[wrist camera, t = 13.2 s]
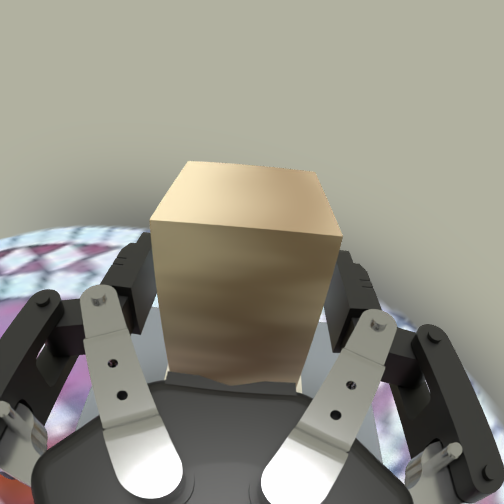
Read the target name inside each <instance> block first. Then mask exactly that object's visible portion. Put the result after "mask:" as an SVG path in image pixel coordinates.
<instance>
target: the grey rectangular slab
mask: <svg viewBox="0 0 504 504" xmlns="http://www.w3.org/2000/svg"><path fill="white" fill-rule="evenodd" d="M130 337H131V340H132V343H133V346H134V349H135V352H136V355H137V358H138V360H139V363H140V366H141V369H142V372H143V374H144V377H145V380H146V382H147V383H151V382H154V381H160V380H166V376H167V372H168V371H169V366H168V360H167V354H166V349H165V343H164V337H163V330H162V324H161V317H160V310H159V308H157V307H151V309H150V312H149V314H148V317H147V320H146V322H145V325H144V328H143V330H142V333H141V335H137V334H131V336H130ZM339 354H340V353H332V347H331V342H330V336H329V331H328V325H327V323H325V322H318V325H317V328H316V331H315V334H314V338H313V341H312V344H311V347H310V350H309V353H308V356H307V359H306V361H305V364H304V367H303V370H302V373H301V376H300V379H299V381H298V384H297V387H296V392H299V393H302V394H305V395H307V396H310V397H312V398H314V397H315V395H316V394H317V392H318V390H319V389H320V387H321V385H322V384H323V382H324V380H325V379H326V377H327V375H328V374H329V372H330V370H331V368H332V367H333V365H334V363H335V361H336V360H337V358H338V356H339ZM98 415H99V411H98V407H97V403H96V399H95V395H94V391H93V387H91V389H90V392H89V395H88V397H87V400H86V402H85V405H84V408H83V411H82V413H81V416H80V419H79V422H78V424H77V427H76V430H78V429H79V428H81V427H82V426H83V425H85V424H86V423H88V422H89V421H91V420H92V419H94V418H95V417H96V416H98ZM76 430H75V431H76ZM356 438H357V439H358V440H359V441H360V442H361V443H362V444H363V445H364V446H365V447H366V448H367V449H368V450H369V451H370V452H371V453H372V454H373V455H374V456H375V457H376V458H377V459H378V460H379V461H380V462H381V463H382V457H381V451H380V445H379V440H378V435H377V429H376V424H375V419H374V414H373V409H372V404H371V405H370V407H369V410H368V412H367V414H366V416H365V419H364V421H363V423H362V425H361V427H360V429H359V431H358V434H357V436H356ZM382 464H383V463H382Z"/></svg>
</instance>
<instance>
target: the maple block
mask: <svg viewBox="0 0 504 504" xmlns="http://www.w3.org/2000/svg"><path fill="white" fill-rule="evenodd" d="M150 232H151V243H152V253H153V263H154V272H155V280H156V288H157V296H158V303H159V310H160V317H161V324H162V330H163V337H164V343H165V349H166V354H167V360H168V366H169V371H171V372H178V373H185V374H193V375H200V376H202V377H205V378H208V379H211V380H214V381H217V382H220V383H223V384H227V385H241V384H249V383H256V382H263V381H269V382H290V383H296V387H297V384H298V381H299V379H300V376H301V373H302V370H303V367H304V364H305V361H306V359H307V356H308V353H309V350H310V347H311V344H312V341H313V338H314V334H315V331H316V328H317V325H318V322H319V319H320V315H321V312H322V309H323V306H324V302H325V299H326V296H327V292H328V289H329V285H330V282H331V279H332V275H333V271H334V268H335V264H336V261H337V257H338V253H339V250H340V246H341V242H342V238H343V235H342V233H341V231H340V228H339V226H338V223H337V221H336V219H335V216H334V214H333V212H332V209H331V207H330V205H329V202H328V200H327V198H326V195H325V193H324V191H323V189H322V186H321V184H320V182H319V180H318V178H317V175H316V173H315V172H310V171H302V170H293V169H284V168H274V167H264V166H253V165H241V164H228V163H213V162H196V161H188V162H187V164H186V165H185V167H184V168H183V169H182V171H181V173H180V174H179V175H178V177H177V178H176V180H175V182H174V183H173V184H172V186H171V187H170V189H169V190H168V192H167V194H166V195H165V196H164V198H163V199H162V201H161V203H160V204H159V206H158V207H157V209H156V210H155V212H154V214H153V215H152V217H151V218H150Z"/></svg>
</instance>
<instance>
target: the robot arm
mask: <svg viewBox="0 0 504 504" xmlns="http://www.w3.org/2000/svg"><path fill="white" fill-rule="evenodd" d="M156 294H157V288H156V280H155V272H154V263H153V253H152V243H151V233H147V232H143V233H142V234H141V236H140V238H139V239H138V241H137V243H130V244H128V245H127V246H125V247H124V248H123V249H121V251H120V253H119V254H118V256H117V258H116V259H115V261H114V262H113V265H111V267H110V269H109V270H108V272H107V273H106V275H105V277H104V278H103V280H102V282H101V283H100V285H95V286H92V287H90V288H88V289H87V290H85V291H84V292H83V294H82V295H81V298H80V299H72V300H61V298H60V295H59V293H58V292H57V291H55V290H50V289H47V290H42V291H39V292H37V293H36V294H34V295H33V296H32V297H31V298H30V299H29V300H28V302H27V303H26V304H25V306H24V307H23V308H22V310H21V311H20V312H19V314H18V315H17V316H16V318H15V319H14V320H13V322H12V323H11V324H10V326H9V327H8V329H7V330H6V331H5V333H4V334H3V336H2V337H1V339H0V474H1V475H3V476H4V477H6V478H8V479H17V480H18V481H20V482H22V483H23V484H25V485H27V486H29V487H31V490H32V495H33V499H34V503H35V504H473V503H475V502H477V501H479V500H481V499H483V498H485V497H487V496H489V495H490V494H492V493H494V492H496V491H497V490H498V489H499V488H500V487H501V485H502V483H503V481H504V465H503V462H502V459H501V456H500V454H499V451H498V448H497V445H496V442H495V440H494V437H493V434H492V432H491V429H490V427H489V424H488V422H487V419H486V417H485V414H484V412H483V410H482V407H481V405H480V403H479V400H478V398H477V396H476V393H475V391H474V389H473V387H472V385H471V382H470V380H469V378H468V376H467V374H466V372H465V370H464V368H463V366H462V364H461V361H460V359H459V357H458V355H457V354H456V352H455V350H454V348H453V346H452V344H451V342H450V340H449V338H448V336H447V335H446V333H445V332H444V331H443V330H442V329H440V328H438V327H436V326H434V325H430V324H426V325H422V326H420V327H419V329H418V330H417V332H416V333H415V332H411V331H408V330H404V329H401V328H398V327H397V324H396V322H395V320H394V318H393V317H392V316H391V315H389V314H388V313H386V312H384V311H382V309H381V307H380V304H379V301H378V299H377V296H376V293H375V291H374V289H373V286H372V283H371V282H370V278H369V276H368V273H367V271H366V270H365V269H364V268H363V267H362V266H361V265H360V264H355V263H353V261H352V258H351V255H350V253H349V251H343V250H339V253H338V257H337V261H336V264H335V268H334V271H333V275H332V279H331V282H330V285H329V289H328V292H327V296H326V299H325V302H324V310H325V315H326V320H327V325H328V331H329V336H330V342H331V347H332V353H340V354H339V356H338V358H337V360H336V361H335V363H334V365H333V367H332V368H331V370H330V372H329V374H328V375H327V377H326V379H325V380H324V382H323V384H322V385H321V387H320V389H319V390H318V392H317V394H316V395H315V397H314V398H312V397H310V396H307V395H305V394H302V393H299V392H296V383H290V382H269V381H263V382H256V383H249V384H241V385H227V384H223V383H220V382H217V381H214V380H211V379H208V378H205V377H202V376H200V375H193V374H185V373H178V372H171V371H168V372H167V376H166V380H160V381H154V382H151V383H147V382H146V380H145V377H144V374H143V372H142V369H141V366H140V363H139V360H138V358H137V355H136V352H135V349H134V346H133V343H132V340H131V337H130V336H131V334H137V335H141V333H142V330H143V328H144V325H145V322H146V320H147V317H148V314H149V312H150V309H151V307H152V304H153V301H154V299H155V296H156ZM44 343H45V346H44V348H43V350H42V351H41V353H40V355H39V356H38V358H37V355H38V353H39V351H40V350H41V348H42V347H43V345H44ZM85 354H86V359H87V364H88V369H89V374H90V378H91V383H92V387H93V391H94V395H95V399H96V403H97V407H98V411H99V415H98V416H96V417H95V418H94V419H92V420H91V421H89V422H88V423H86V424H85V425H83V426H82V427H81V428H79V429H78V430H76V431H75V432H73V433H72V434H70V435H69V436H67V437H66V438H65V439H63V440H62V441H60V442H59V443H57V444H56V445H54V446H53V447H51V448H50V449H48V450H47V439H48V436H47V431H46V429H45V427H44V426H45V423H46V421H47V419H48V417H49V415H50V412H51V410H52V408H53V406H54V404H55V402H56V400H57V398H58V396H59V394H60V392H61V390H62V387H63V385H64V383H65V381H66V379H67V377H68V376H69V374H70V372H71V370H72V368H73V366H74V364H75V362H76V360H77V358H78V356H79V355H85ZM36 358H37V360H36ZM425 380H426V382H427V384H426V382H425ZM380 381H382V382H386V383H389V385H390V388H391V391H392V394H393V397H394V401H395V404H396V407H397V410H398V414H399V417H400V420H401V424H402V427H403V431H404V434H405V438H406V441H407V445H408V449H409V452H410V456H411V461H410V462H409V463H408V465H407V467H406V471H405V485H404V484H403V483H402V482H401V481H400V480H399V479H398V478H397V477H396V476H395V475H394V474H393V473H392V472H391V471H390V470H389V469H387V468H386V467H385V466H384V465H383V464H382V463H381V462H380V461H379V460H378V459H377V458H376V457H375V456H374V455H373V454H372V453H371V452H370V451H369V450H368V449H367V448H366V447H365V446H364V445H363V444H362V443H361V442H360V441H359V440H358V439H357V438H356V436H357V434H358V431H359V429H360V427H361V425H362V423H363V421H364V419H365V416H366V414H367V412H368V410H369V407H370V405H371V403H372V400H373V398H374V396H375V393H376V391H377V388H378V386H379V383H380ZM427 385H428V387H429V389H428V387H427ZM429 390H430V392H429Z"/></svg>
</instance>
